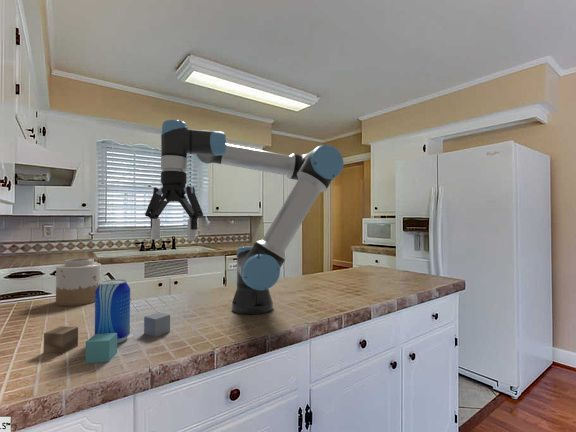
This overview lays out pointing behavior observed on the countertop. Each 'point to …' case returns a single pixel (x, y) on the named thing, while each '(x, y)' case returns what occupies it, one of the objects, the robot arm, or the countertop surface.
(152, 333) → the grey cube
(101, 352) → the teal cube
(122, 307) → the beer can
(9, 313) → the countertop surface
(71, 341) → the walnut cube
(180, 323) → the countertop surface
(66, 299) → the vase
